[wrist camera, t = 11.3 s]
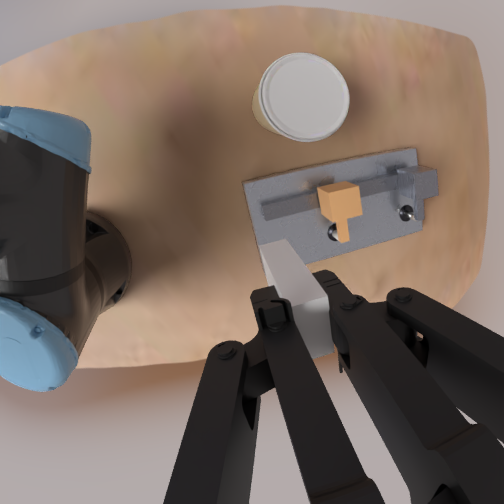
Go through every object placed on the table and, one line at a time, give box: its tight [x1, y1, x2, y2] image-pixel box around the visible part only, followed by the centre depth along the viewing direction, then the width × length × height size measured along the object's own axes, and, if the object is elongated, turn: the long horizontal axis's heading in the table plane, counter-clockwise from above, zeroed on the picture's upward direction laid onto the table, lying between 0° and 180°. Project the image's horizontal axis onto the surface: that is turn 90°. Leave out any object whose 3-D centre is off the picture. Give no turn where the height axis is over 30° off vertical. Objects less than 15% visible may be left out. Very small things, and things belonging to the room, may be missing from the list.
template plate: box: [242, 147, 439, 276], centre depth 41 cm, size 26×13×8 cm, turn 103°
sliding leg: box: [317, 181, 363, 243], centre depth 40 cm, size 4×8×6 cm, turn 13°
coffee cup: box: [252, 53, 350, 142], centre depth 34 cm, size 9×9×12 cm
